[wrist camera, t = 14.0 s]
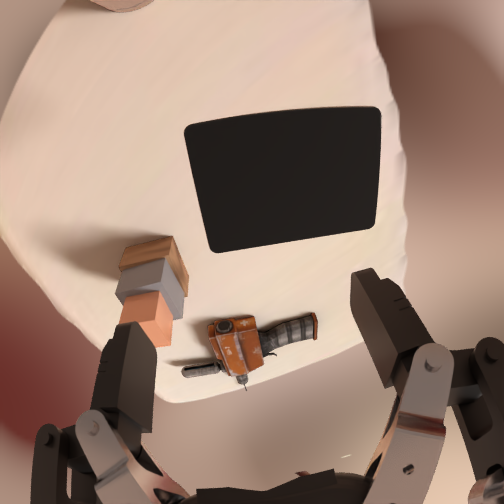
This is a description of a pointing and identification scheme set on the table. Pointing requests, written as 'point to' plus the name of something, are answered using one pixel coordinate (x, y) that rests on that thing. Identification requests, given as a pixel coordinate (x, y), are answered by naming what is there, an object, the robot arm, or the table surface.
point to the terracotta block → (150, 316)
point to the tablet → (286, 174)
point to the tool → (249, 345)
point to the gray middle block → (152, 284)
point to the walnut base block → (157, 258)
